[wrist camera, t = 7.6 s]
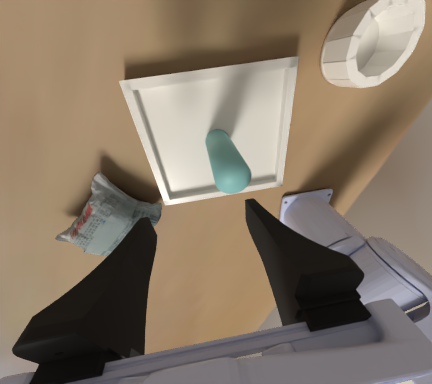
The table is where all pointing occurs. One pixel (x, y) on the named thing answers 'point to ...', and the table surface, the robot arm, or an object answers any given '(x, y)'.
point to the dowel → (227, 163)
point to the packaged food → (107, 218)
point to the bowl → (371, 42)
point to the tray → (214, 123)
